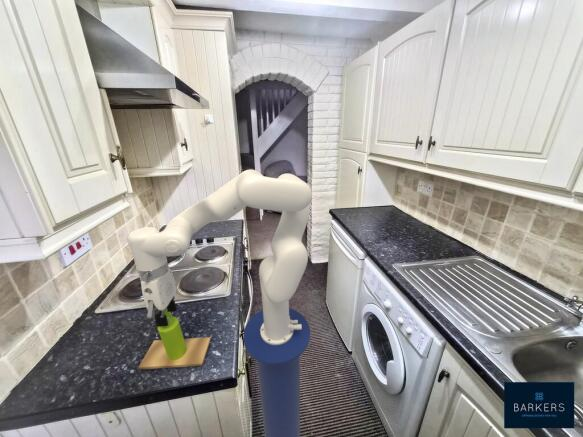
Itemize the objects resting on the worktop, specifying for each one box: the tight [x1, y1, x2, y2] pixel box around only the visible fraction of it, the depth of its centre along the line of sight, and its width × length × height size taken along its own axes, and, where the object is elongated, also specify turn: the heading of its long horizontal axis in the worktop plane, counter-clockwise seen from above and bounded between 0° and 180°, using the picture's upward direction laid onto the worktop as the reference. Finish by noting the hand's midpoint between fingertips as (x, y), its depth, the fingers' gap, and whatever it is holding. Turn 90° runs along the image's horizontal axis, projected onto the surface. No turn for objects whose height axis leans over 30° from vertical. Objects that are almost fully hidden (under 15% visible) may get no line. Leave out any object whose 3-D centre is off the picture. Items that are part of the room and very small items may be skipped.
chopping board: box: [138, 336, 212, 370], centre depth 78 cm, size 20×10×1 cm, turn 93°
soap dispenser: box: [157, 307, 187, 360], centre depth 74 cm, size 6×7×20 cm
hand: (167, 317), depth 72 cm, fingers closed on soap dispenser, 5 cm apart
